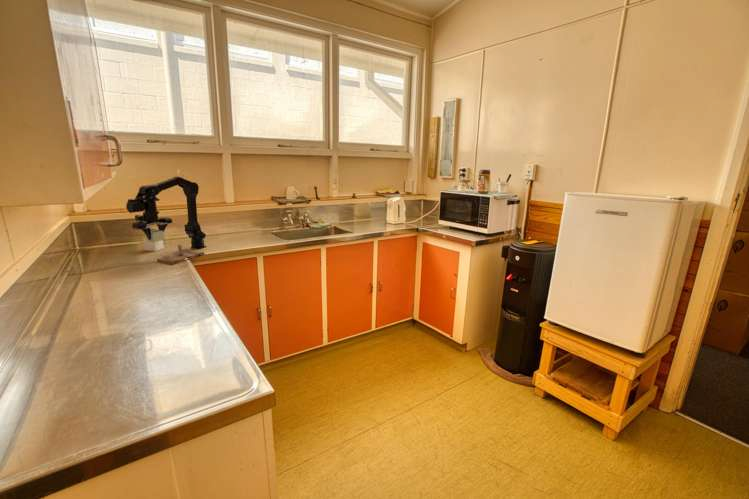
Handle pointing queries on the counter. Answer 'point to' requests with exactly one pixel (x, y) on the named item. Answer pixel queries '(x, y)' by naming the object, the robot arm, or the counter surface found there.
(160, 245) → the medicine bottle
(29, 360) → the counter surface
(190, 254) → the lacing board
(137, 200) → the robot arm
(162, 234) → the square hollow cube
